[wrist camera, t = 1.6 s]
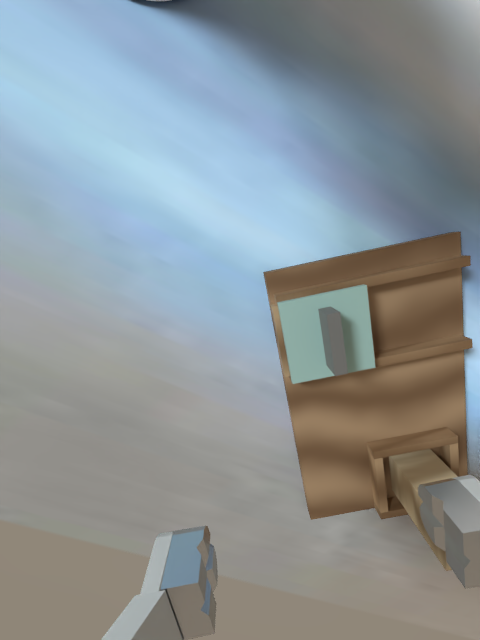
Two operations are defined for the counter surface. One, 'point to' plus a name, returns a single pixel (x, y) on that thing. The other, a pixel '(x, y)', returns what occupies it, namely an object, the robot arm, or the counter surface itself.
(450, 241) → the puzzle board
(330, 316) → the cover
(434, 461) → the maple block
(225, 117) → the counter surface
